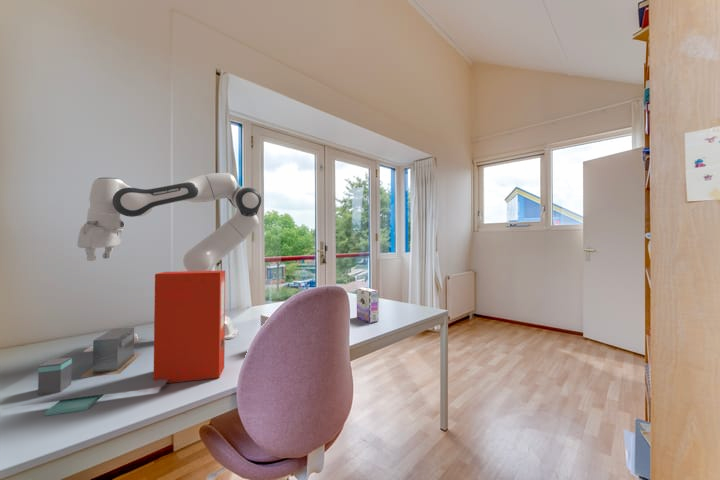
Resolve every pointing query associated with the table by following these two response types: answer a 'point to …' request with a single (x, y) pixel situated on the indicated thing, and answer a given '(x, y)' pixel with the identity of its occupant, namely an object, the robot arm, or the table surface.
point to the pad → (73, 404)
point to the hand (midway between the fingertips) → (99, 259)
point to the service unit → (113, 350)
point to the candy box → (367, 304)
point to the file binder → (189, 325)
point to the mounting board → (90, 372)
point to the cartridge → (54, 375)
